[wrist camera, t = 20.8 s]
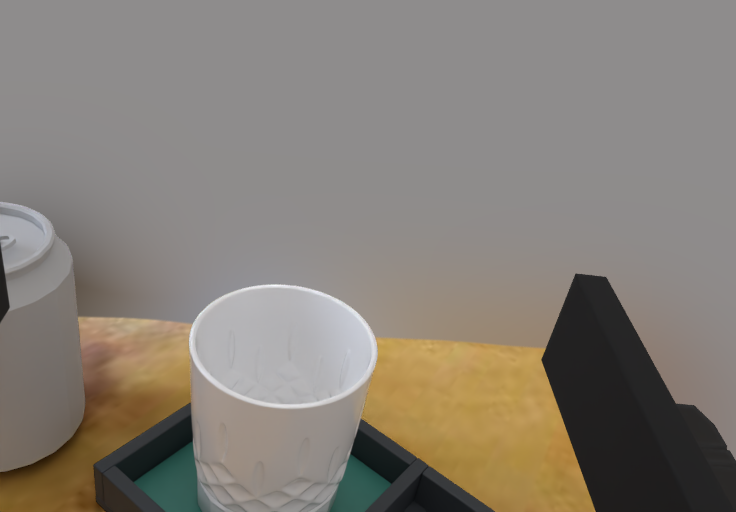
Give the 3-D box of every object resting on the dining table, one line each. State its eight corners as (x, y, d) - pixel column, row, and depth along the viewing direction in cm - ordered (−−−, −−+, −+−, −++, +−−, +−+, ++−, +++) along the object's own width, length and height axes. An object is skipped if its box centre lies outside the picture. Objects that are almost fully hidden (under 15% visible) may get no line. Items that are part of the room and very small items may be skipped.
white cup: (276, 410, 40) (293, 264, 34) (377, 501, 36) (415, 352, 30) (152, 483, 34) (150, 324, 29) (254, 599, 30) (274, 440, 25)
